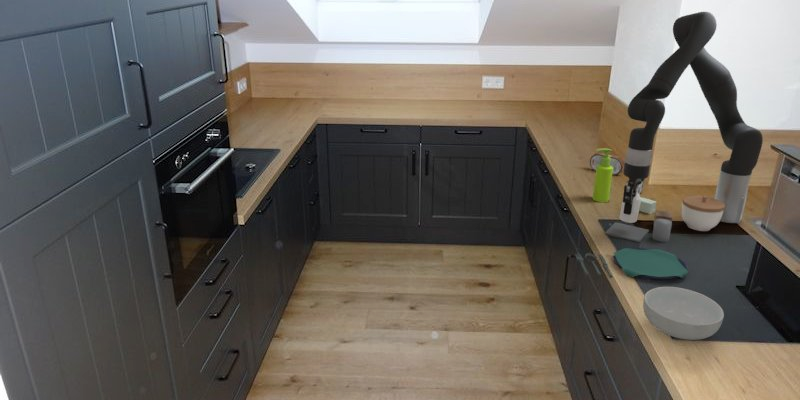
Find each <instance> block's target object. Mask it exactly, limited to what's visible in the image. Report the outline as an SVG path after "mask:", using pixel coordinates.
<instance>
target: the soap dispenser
mask: <svg viewBox="0 0 800 400" xmlns="http://www.w3.org/2000/svg"><path fill="white" fill-rule="evenodd" d="M595 150H596V151H597V153H599V152H603V153H604V156H603V157H602V158H601V165H597V168H596V171H595V177H594V185H593V190H592V191H593V193H592V200H593V201H595V202H598V203H607V202H609V200H610V194H611V187H612V180H613V175H612V173H613V167H612V166H610V162H611V158H610V157H609V154H610V153H611V152H612V149H611V148H607V147H605V148H604V147H602V148H596V149H595Z"/></svg>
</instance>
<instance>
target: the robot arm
mask: <svg viewBox="0 0 800 400" xmlns="http://www.w3.org/2000/svg"><path fill="white" fill-rule="evenodd" d="M716 30H717V19H716V17H715V16H714V15H713V13H711V12H709V11H700V12H695V13H691V14H686V15H684V16H680V17H678V18H677V19H676V20H675V21H674V23H673V26H672V33H673V37H674V39H675V42H676V44H677V46H678V48H677V49H676V50H675V51H674V52H673V53H672V54H670V56H669V57H668V58H667V59H665V60H664V61H663V62H662V63H661V64H660V66H658V68H656V71H655V72H654V74H653V75H652V77H651V79H650V81H649V82H648V83H647V85H645V86H644V87H643V88H642V89H641V90H640V91H639V92H638V93H637V94H636V95H635V96H634V97H633V98H632V99H631V101H630V102H629V104H628V107H627V115H628V118H630V119H632V120H634V121H639V122H644V123H646V124H645V125H644V127H636V128H633V129H631V131H630V134H629V140H628V146H627V150H626V154H625V160H624V163H625V166H624V170H623V172H622V173H623V175H624V177H627V178H628V181H626V184H625V185H624V187H623V194H622V195H623V197H622V200H623V202H624V203H625V205H624V212H623V213H624V214H627V215H630V214H631V210H632V204H633V200H634V198H635V197H636V196H637V192H638V193H639V196H640V197H641V195H642V191H643V187H644V181H645V179H647V178H649V176H650V169H651V163H652V158H653V147H654V141H655V136H656V134H657V131H658V130H659V127H660V125H661V123H662V121H663V119H664V117H665V114H666V107H665V104H664V103H663V101H661V100H664V99H666V98H668V97H669V96H670V94H671V93H672V92H673V90H674V88H675V86H676V85H677V82H678V81H679V79H680V78H681V77H682V75H683V74H684V72H685V70H686V69H687V68H688V67H689V65H690V67H691V70H692V72H693V74H694V76H695V78H696V81H697V82H698V84H699V87H700V90H701V92H702V94H703V96H704V99H705V100H706V101H707V104H708V106H709V108H710V110H711V112H712V114H713V115H714V119H715V121H716V123H717V126H718V130H719V134H720V136H721V140H722V143H723V144H724V145H725V146H726V147H727V149H729V150H730V151H731V154H730V158H729V160H724V161H723V162H722V164H721V166H720V171H719V175H718V180H717V184H716V185H717V186H716V189H715V195H714V199H717V200H719V201H721V202H723V203H724V204H725V208H724V211H723V215H722V218H721V220H720V222H722V223H727V224H738V225H739V224H740V223H741V221H742V219H743V213H744V210H745V206H746V201H747V198H748V197H747V196H748V190H749V185H750V181H751V176H752V173H753V170H754V169H755V167H756V165H757V163H758V161H759V158H760V153H761V150H762V146H763V142H764V141H763V139H764V138H763V134H762V132H761V131H760V130H758V129H757V128H755V127H753V126H750V125H749V124H747V123H745V121H744V119H743V118H742V115H741V114H740V112H739V109H738V106H737V105H738V103H737V102H738V101H737V100H738V89H737V86H736V83H735V81H734V78H733V76H732V75H731V71H730V70H729V69H728V68H727V67H726V66H725V65H724V64H723V63H722V62H720V61H719V60H717V58H715V57H714V56H712V55H711V54H710V53H709V52H708V51H707V49H706V48H705V47H706V45H707V44H708V43H709V42H710V40H711V39H712V38H713V36H714V34H715V33H716ZM633 193H634V194H633ZM628 197H629V198H630V199H629V200H628V199H627V198H628Z"/></svg>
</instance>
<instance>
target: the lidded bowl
mask: <svg viewBox="0 0 800 400" xmlns="http://www.w3.org/2000/svg"><path fill="white" fill-rule="evenodd" d="M724 208H725V204H724V203H723V202H721V201H719V200H717V199H715V197H714V198H713V197H709V196H706V195H688V196H685V197H684V198H683V199H682V205H681V217H682V220H683V222H684V223H685V224H686V227H688V228H689V229H690V230H691V229H692V230H694V231H699V232H709V231H711V229H713V228H716V226H717V225H718V224H719V223H720V222H721V221H720V220H721V218H722V215H723V211H724Z"/></svg>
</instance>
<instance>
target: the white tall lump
mask: <svg viewBox="0 0 800 400" xmlns="http://www.w3.org/2000/svg"><path fill="white" fill-rule="evenodd" d="M633 194H634V193H633ZM640 197H641V195H640V196H639V193H638V192H637V196H636V197H635V198H634V200H633V204H632V210H631V214H630V215H627V214H624V213H623V212H624V205H625V203H624V202H623V199H622V201H621V202H622V203H621V205H620V206H621V207H620V213H619V217H618V219H619V220H621V221H622V222H624V223H630V224H631V223H633V224H634V223H636V222H637V220H638V218H639V217H638V216H639V214H640V211H639V208H640V203H641V198H640ZM627 199H628V200H629V199H630V198H629V197H628V198H627Z"/></svg>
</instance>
